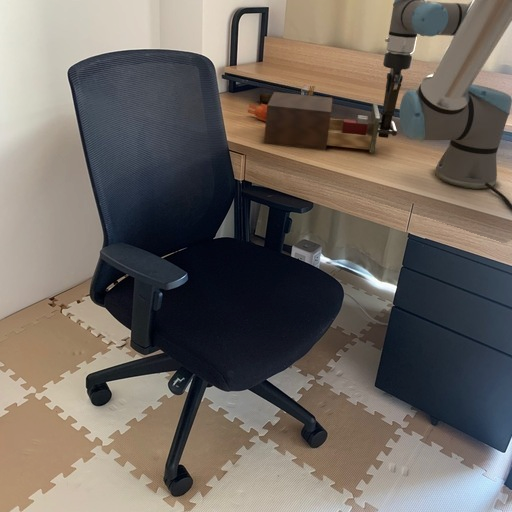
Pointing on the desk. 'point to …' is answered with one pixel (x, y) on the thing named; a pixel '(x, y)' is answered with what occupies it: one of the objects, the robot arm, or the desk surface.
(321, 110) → the cabinet
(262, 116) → the orange toy bird
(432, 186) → the desk surface
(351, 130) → the red base white blocks
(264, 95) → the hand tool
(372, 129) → the drawer
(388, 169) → the desk surface
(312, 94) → the utensil holder
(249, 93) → the desk surface
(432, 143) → the desk surface
